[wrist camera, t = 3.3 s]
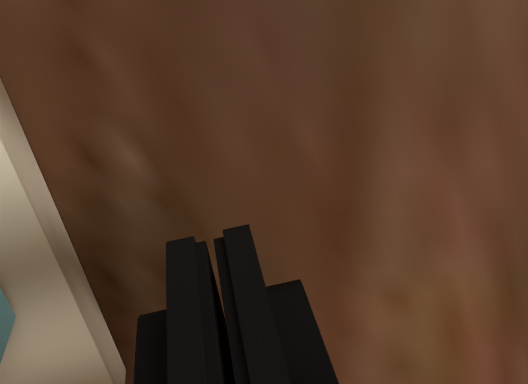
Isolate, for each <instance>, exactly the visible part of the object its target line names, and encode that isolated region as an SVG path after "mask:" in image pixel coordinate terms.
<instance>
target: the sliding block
mask: <svg viewBox="0 0 528 384" xmlns="http://www.w3.org/2000/svg"><path fill="white" fill-rule="evenodd" d="M15 318H16V315H15V314H14V312H13V310H12V308H11V306H10V305H9V303H8V301H7V299H6V298H5V296H4V294H3V292H2V290H1V289H0V364H1V361H2V358H3V355H4V352H5V349H6V346H7V343H8V340H9V337H10V334H11V331H12V328H13V325H14V322H15Z"/></svg>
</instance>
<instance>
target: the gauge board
mask: <svg viewBox="0 0 528 384" xmlns="http://www.w3.org/2000/svg"><path fill="white" fill-rule="evenodd" d="M0 289H1V290H2V292H3V294H4V296H5V298H6V299H7V301H8V303H9V305H10V306H11V308H12V310H13V312H14V314H15V315H16V318H15V322H14V325H13V328H12V331H11V334H10V337H9V340H8V343H7V346H6V349H5V352H4V355H3V358H2V361H1V364H0V384H125V375H126V369H125V366H124V364H123V362H122V359H121V357H120V355H119V353H118V350H117V348H116V346H115V343H114V341H113V339H112V336H111V334H110V332H109V329H108V327H107V325H106V322H105V320H104V318H103V315H102V313H101V311H100V308H99V306H98V304H97V301H96V299H95V297H94V294H93V292H92V290H91V287H90V285H89V283H88V280H87V278H86V276H85V274H84V271H83V269H82V267H81V264H80V262H79V260H78V257H77V255H76V253H75V250H74V248H73V246H72V243H71V241H70V239H69V236H68V234H67V232H66V229H65V227H64V225H63V222H62V220H61V218H60V215H59V213H58V211H57V208H56V206H55V204H54V201H53V199H52V197H51V195H50V192H49V190H48V188H47V185H46V183H45V181H44V178H43V176H42V174H41V171H40V169H39V167H38V164H37V162H36V160H35V157H34V155H33V153H32V150H31V148H30V146H29V143H28V141H27V139H26V136H25V134H24V132H23V129H22V127H21V125H20V122H19V120H18V118H17V116H16V113H15V111H14V109H13V106H12V104H11V102H10V99H9V97H8V95H7V92H6V90H5V88H4V85H3V83H2V81H1V78H0Z"/></svg>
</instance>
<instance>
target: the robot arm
mask: <svg viewBox="0 0 528 384" xmlns="http://www.w3.org/2000/svg"><path fill="white" fill-rule="evenodd" d="M223 235H224V237H221V238H217V239H214V245H215V252H216V259H217V265H218V272H219V279H220V285H221V292H222V299H223V305H224V312H225V317H224V313H223V309H222V305H221V301H220V297H219V293H218V289H217V285H216V281H215V277H214V273H213V269H212V265H211V261H210V256H209V252H208V248H207V245H206V242H205V241H203V242H198V243H196V242H195V239H194V236H192V237H187V238H183V239H178V240H174V241H169V242H167V243H166V297H167V309H166V310H162V311H157V312H153V313H149V314H144V315H140V316H139V318H138V323H137V337H136V353H135V368H134V384H339V383H338V380H337V377H336V375H335V372H334V369H333V366H332V364H331V361H330V358H329V356H328V353H327V350H326V347H325V345H324V342H323V339H322V336H321V334H320V331H319V328H318V326H317V323H316V320H315V317H314V315H313V312H312V309H311V306H310V304H309V301H308V298H307V295H306V293H305V290H304V287H303V285H302V282H301V281H300V279H299V280H295V281H290V282H286V283H281V284H277V285H273V286H268V287H265V283H264V279H263V276H262V272H261V268H260V264H259V261H258V257H257V253H256V249H255V246H254V242H253V238H252V234H251V231H250V227H249V224H248V225H243V226H239V227H234V228H229V229H225V230H223ZM225 319H226V321H225Z"/></svg>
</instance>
